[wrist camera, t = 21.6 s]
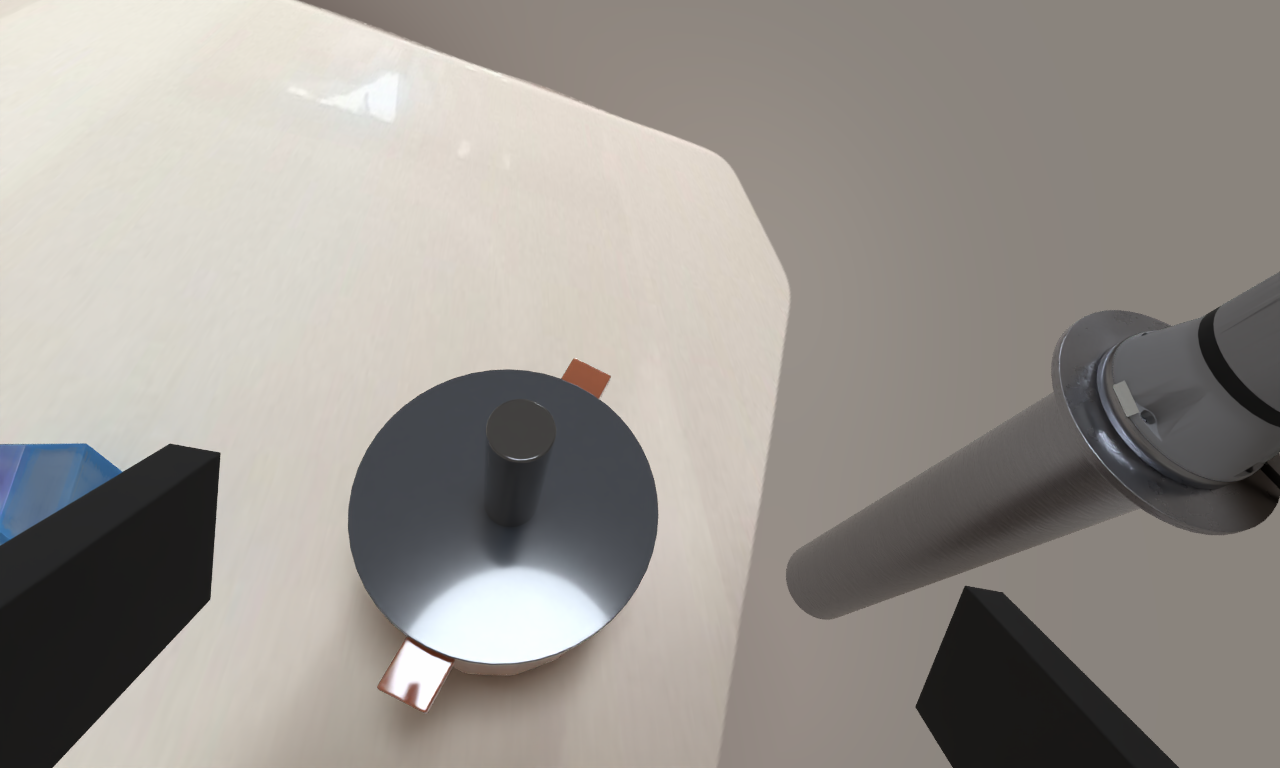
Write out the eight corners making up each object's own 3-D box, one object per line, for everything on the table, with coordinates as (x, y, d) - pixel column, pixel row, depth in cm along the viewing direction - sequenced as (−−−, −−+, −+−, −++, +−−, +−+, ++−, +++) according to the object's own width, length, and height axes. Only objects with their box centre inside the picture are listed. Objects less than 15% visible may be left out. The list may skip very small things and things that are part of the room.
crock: (658, 479, 46) (702, 414, 37) (527, 768, 37) (544, 774, 28) (484, 391, 47) (487, 306, 38) (309, 655, 37) (255, 625, 28)
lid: (693, 455, 37) (757, 369, 28) (576, 727, 29) (615, 718, 21) (458, 337, 37) (452, 218, 29) (282, 576, 30) (206, 509, 21)
